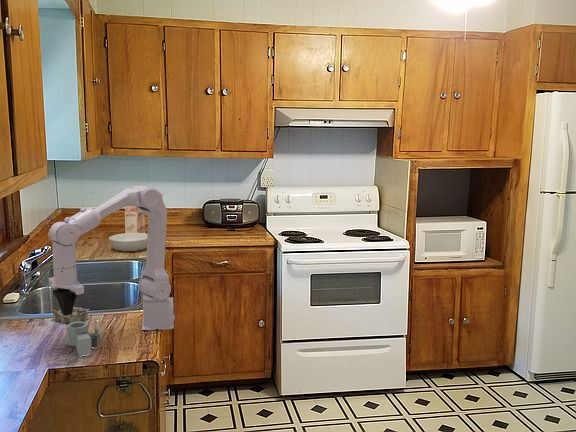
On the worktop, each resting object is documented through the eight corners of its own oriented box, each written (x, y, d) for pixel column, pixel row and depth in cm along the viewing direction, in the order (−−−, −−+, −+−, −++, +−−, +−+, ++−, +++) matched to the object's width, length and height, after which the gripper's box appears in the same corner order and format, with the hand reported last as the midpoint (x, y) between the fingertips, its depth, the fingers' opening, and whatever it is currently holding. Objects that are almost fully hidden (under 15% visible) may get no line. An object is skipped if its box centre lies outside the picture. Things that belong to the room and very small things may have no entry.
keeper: (84, 345, 152) (83, 332, 151) (100, 347, 151) (99, 333, 150) (81, 347, 150) (80, 334, 150) (97, 349, 150) (96, 335, 149)
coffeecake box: (138, 242, 291) (137, 206, 288) (124, 241, 292) (123, 205, 288) (145, 236, 306) (145, 202, 303) (133, 236, 306) (132, 202, 303)
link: (66, 341, 155) (65, 323, 154) (86, 338, 157) (85, 320, 157) (74, 358, 143) (73, 339, 143) (96, 354, 146) (95, 335, 145)
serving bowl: (109, 246, 279) (108, 233, 278) (151, 244, 286) (150, 231, 285) (109, 255, 260) (108, 241, 259) (154, 253, 266) (153, 239, 265)
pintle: (101, 339, 157) (100, 318, 156) (101, 341, 155) (100, 321, 154) (95, 339, 156) (94, 319, 155) (94, 342, 155) (93, 321, 154)
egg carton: (48, 321, 171) (48, 309, 171) (67, 314, 178) (66, 302, 178) (73, 326, 167) (73, 314, 166) (92, 319, 174) (91, 307, 173)
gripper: (36, 264, 147) (39, 312, 149) (65, 273, 139) (68, 324, 141) (61, 260, 153) (63, 306, 155) (90, 268, 144) (92, 317, 146)
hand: (67, 314), depth 148 cm, fingers closed
